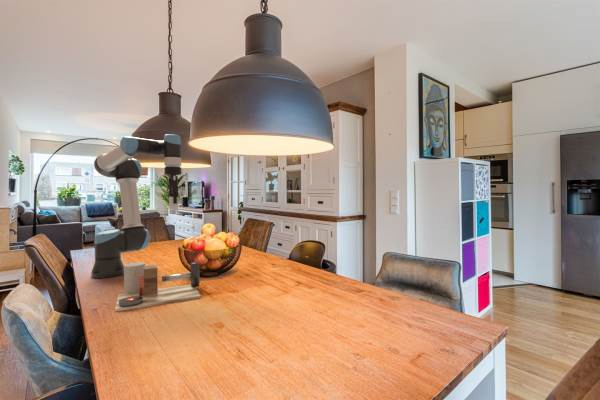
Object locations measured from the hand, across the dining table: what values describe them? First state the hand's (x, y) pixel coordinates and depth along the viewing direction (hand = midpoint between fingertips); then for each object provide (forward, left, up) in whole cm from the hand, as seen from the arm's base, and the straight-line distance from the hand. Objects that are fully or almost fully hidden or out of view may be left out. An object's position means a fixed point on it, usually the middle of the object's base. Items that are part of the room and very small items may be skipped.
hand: (173, 210), depth 148 cm
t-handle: (+18, +1, -33) cm, 38 cm away
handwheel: (+28, -17, -33) cm, 47 cm away
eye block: (+23, -8, -35) cm, 42 cm away
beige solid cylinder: (+9, -17, -35) cm, 40 cm away
